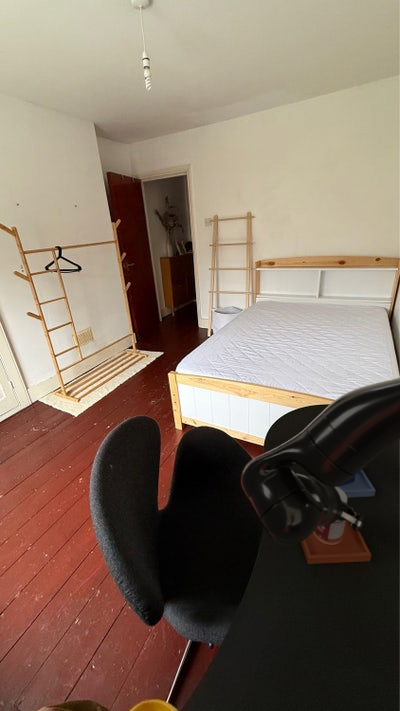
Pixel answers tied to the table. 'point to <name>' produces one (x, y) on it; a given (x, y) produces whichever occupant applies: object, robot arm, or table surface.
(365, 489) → the blue tray
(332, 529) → the pill bottle
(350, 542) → the terracotta tray
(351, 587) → the table surface
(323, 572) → the table surface
